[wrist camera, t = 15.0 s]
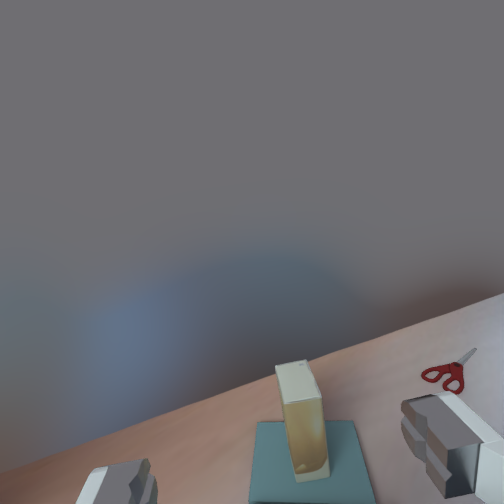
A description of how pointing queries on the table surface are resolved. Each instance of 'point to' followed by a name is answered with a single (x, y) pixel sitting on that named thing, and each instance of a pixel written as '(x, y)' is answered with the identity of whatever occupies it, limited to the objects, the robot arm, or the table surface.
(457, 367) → the scissors
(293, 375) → the skincare box
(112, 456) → the table surface
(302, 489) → the teal mat
